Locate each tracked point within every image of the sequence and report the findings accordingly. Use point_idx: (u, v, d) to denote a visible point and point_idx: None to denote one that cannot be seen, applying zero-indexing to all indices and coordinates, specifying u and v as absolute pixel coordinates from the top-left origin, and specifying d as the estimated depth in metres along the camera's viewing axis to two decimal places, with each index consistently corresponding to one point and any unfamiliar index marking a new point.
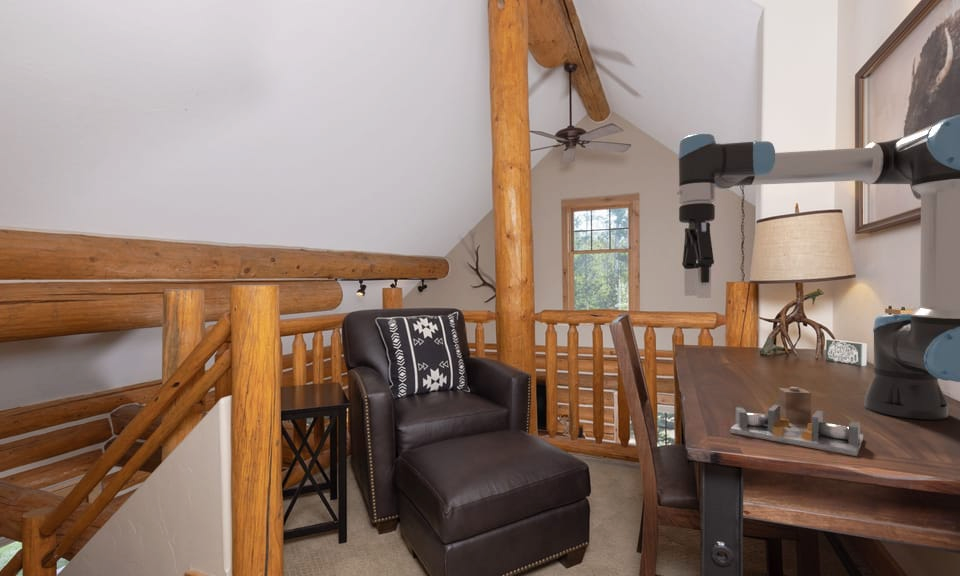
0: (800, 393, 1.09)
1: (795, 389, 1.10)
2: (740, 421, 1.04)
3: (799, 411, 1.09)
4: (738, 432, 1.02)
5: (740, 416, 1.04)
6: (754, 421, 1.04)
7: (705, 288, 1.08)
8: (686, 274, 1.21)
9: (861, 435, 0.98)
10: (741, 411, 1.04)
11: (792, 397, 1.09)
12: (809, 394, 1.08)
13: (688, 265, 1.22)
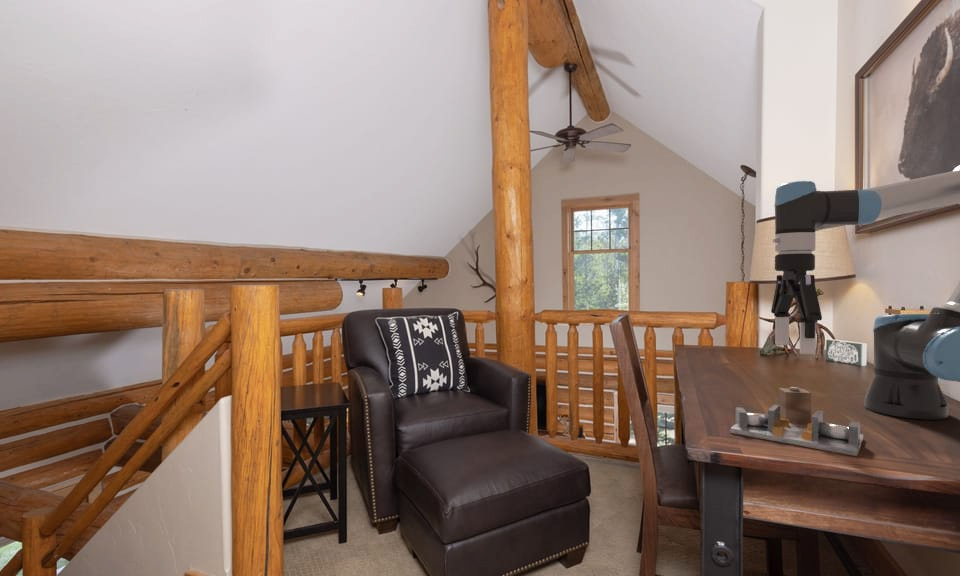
0: (800, 393, 1.09)
1: (795, 389, 1.10)
2: (740, 421, 1.04)
3: (799, 411, 1.09)
4: (738, 432, 1.02)
5: (740, 416, 1.04)
6: (754, 421, 1.04)
7: (809, 343, 1.03)
8: (778, 323, 1.17)
9: (861, 435, 0.98)
10: (741, 411, 1.04)
11: (792, 397, 1.09)
12: (809, 394, 1.08)
13: (779, 313, 1.17)
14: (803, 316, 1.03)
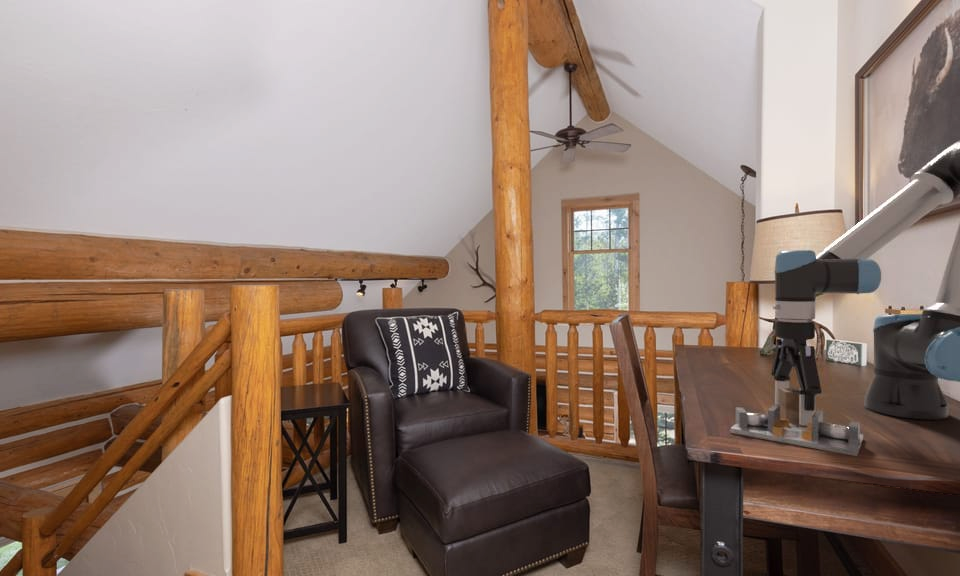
0: None
1: (795, 389, 1.10)
2: (740, 421, 1.04)
3: None
4: (738, 432, 1.02)
5: (740, 416, 1.04)
6: (754, 421, 1.04)
7: (809, 415, 1.04)
8: (778, 387, 1.17)
9: (861, 435, 0.98)
10: (741, 411, 1.04)
11: (792, 397, 1.09)
12: None
13: (779, 377, 1.18)
14: (803, 388, 1.03)
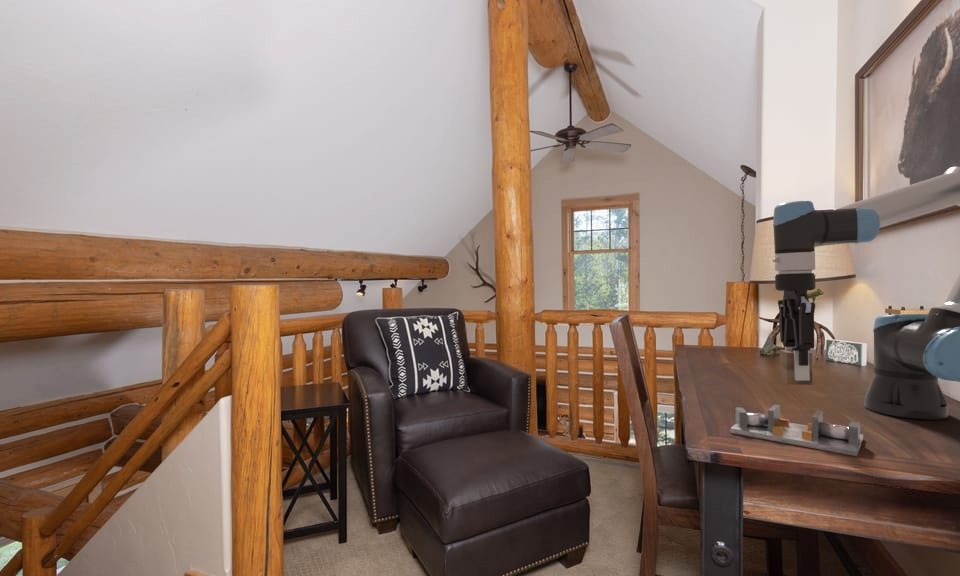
0: None
1: None
2: (740, 421, 1.04)
3: None
4: (738, 432, 1.02)
5: (740, 416, 1.04)
6: (754, 421, 1.04)
7: (803, 370, 1.08)
8: None
9: (861, 435, 0.98)
10: (741, 411, 1.04)
11: (793, 357, 1.09)
12: (810, 354, 1.08)
13: (789, 343, 1.13)
14: (797, 345, 1.07)
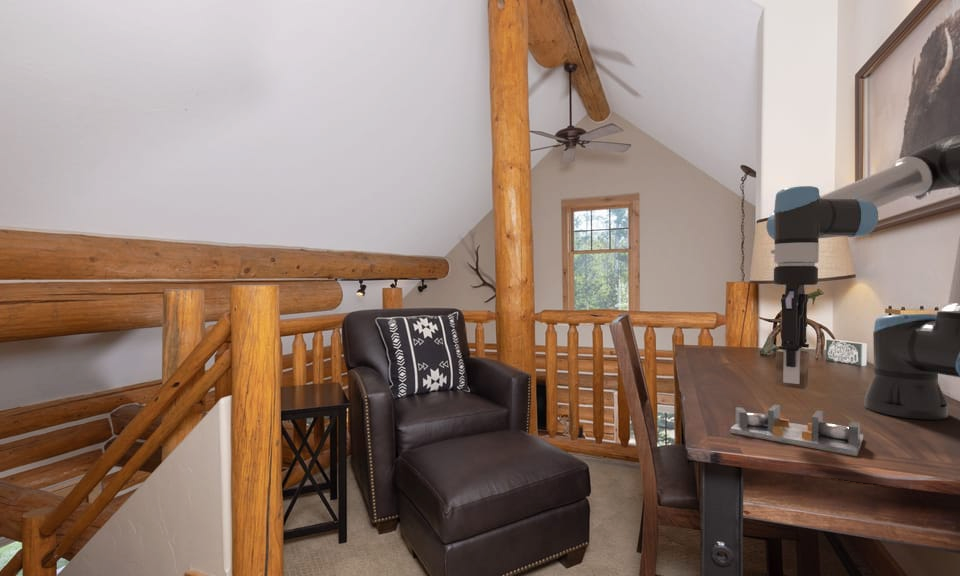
0: None
1: None
2: (740, 421, 1.04)
3: None
4: (738, 432, 1.02)
5: (740, 416, 1.04)
6: (754, 421, 1.04)
7: (792, 372, 0.98)
8: None
9: (861, 435, 0.98)
10: (741, 411, 1.04)
11: (783, 357, 1.00)
12: (803, 355, 0.98)
13: None
14: None
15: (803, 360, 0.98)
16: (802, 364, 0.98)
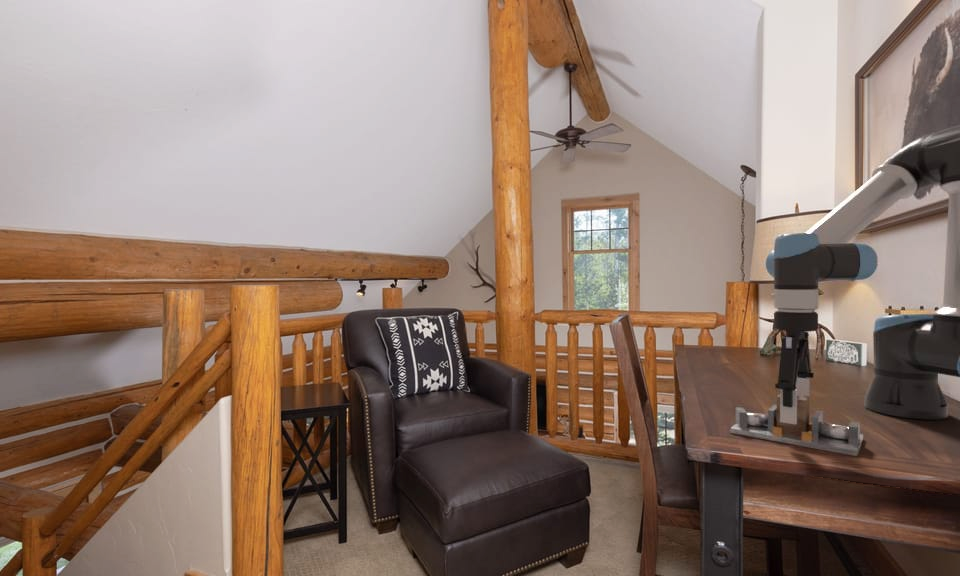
0: None
1: None
2: (740, 421, 1.04)
3: None
4: (738, 432, 1.02)
5: (740, 416, 1.04)
6: (754, 421, 1.04)
7: (789, 412, 0.95)
8: (795, 383, 1.06)
9: (861, 435, 0.98)
10: (741, 411, 1.04)
11: None
12: (804, 401, 0.98)
13: (799, 373, 1.06)
14: None
15: (804, 406, 0.98)
16: (803, 410, 0.98)
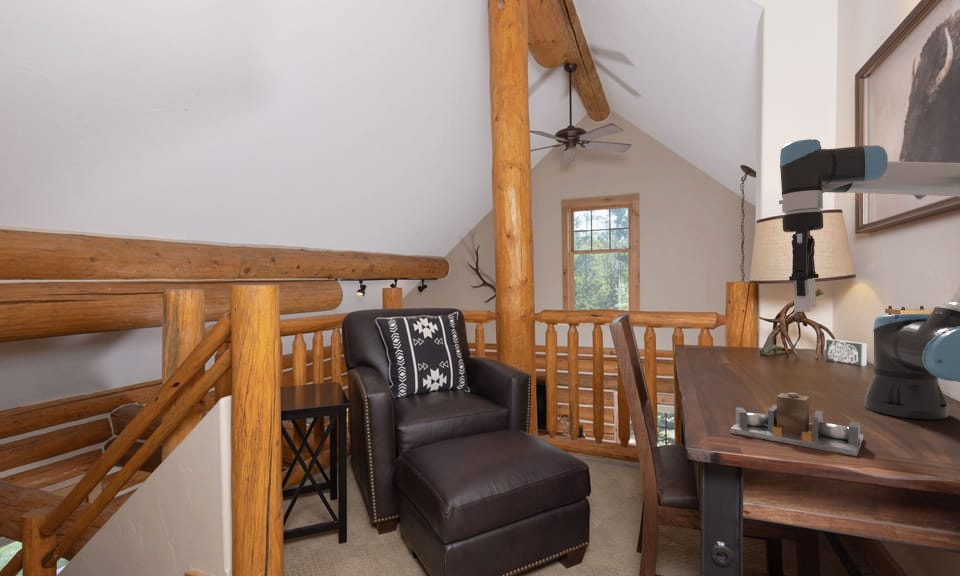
0: (793, 399, 0.99)
1: (791, 395, 1.00)
2: (740, 421, 1.04)
3: (792, 419, 0.99)
4: (738, 432, 1.02)
5: (740, 416, 1.04)
6: (754, 421, 1.04)
7: (803, 301, 1.04)
8: None
9: (861, 435, 0.98)
10: (741, 411, 1.04)
11: (784, 403, 1.00)
12: (804, 401, 0.98)
13: None
14: None
15: (804, 406, 0.98)
16: (803, 410, 0.98)
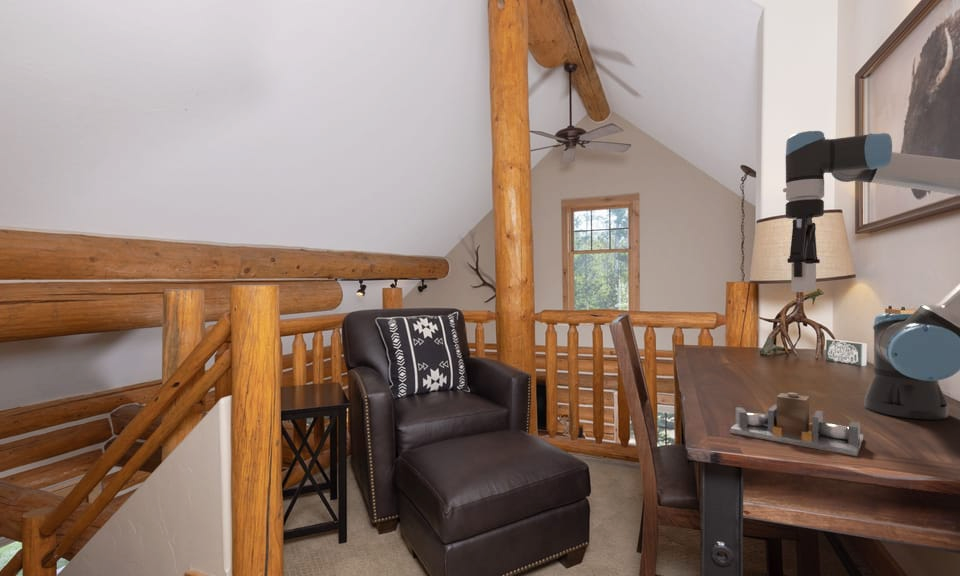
0: (793, 399, 0.99)
1: (791, 395, 1.00)
2: (740, 421, 1.04)
3: (792, 419, 0.99)
4: (738, 432, 1.02)
5: (740, 416, 1.04)
6: (754, 421, 1.04)
7: (799, 282, 1.11)
8: None
9: (861, 435, 0.98)
10: (741, 411, 1.04)
11: (784, 403, 1.00)
12: (804, 401, 0.98)
13: (807, 260, 1.23)
14: None
15: (804, 406, 0.98)
16: (803, 410, 0.98)
